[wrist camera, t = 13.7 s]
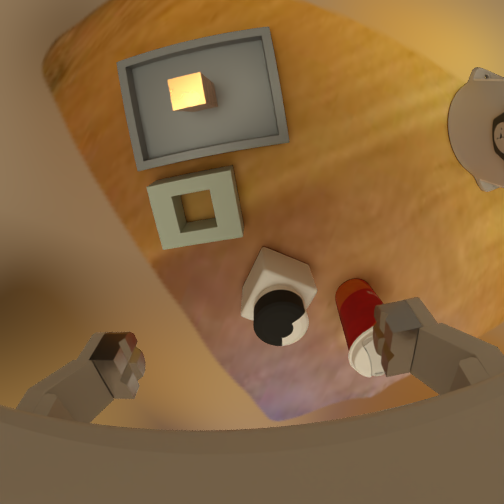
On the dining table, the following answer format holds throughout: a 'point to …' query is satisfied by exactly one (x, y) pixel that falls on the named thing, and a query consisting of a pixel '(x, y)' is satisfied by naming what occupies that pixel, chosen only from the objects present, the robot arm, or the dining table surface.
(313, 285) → the medicine bottle
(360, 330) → the paper cup
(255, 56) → the tray
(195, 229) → the socket block
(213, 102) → the pin
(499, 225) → the dining table surface
